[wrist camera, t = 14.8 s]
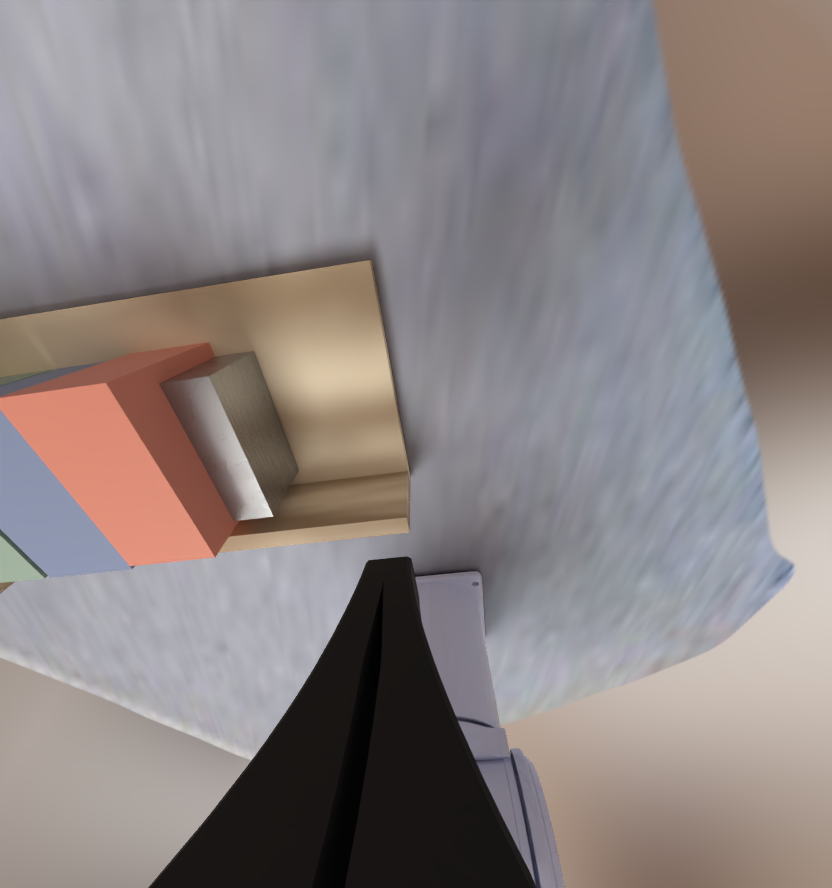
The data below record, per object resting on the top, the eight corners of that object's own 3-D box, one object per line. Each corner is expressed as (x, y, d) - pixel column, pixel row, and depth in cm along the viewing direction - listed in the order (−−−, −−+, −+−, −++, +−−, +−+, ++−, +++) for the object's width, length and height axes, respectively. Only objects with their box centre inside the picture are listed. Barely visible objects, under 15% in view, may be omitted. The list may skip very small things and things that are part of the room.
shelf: (410, 477, 20) (409, 565, 15) (86, 514, 22) (-36, 609, 16) (371, 260, 15) (343, 259, 9) (-67, 330, 16) (-349, 370, 10)
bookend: (299, 470, 19) (273, 516, 16) (266, 474, 19) (233, 521, 16) (254, 351, 16) (208, 376, 12) (214, 356, 16) (158, 383, 12)
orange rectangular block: (268, 477, 20) (215, 557, 14) (205, 485, 20) (129, 566, 15) (209, 341, 16) (105, 382, 10) (130, 353, 16) (-9, 399, 11)
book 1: (206, 487, 20) (132, 569, 15) (144, 495, 20) (50, 577, 15) (133, 357, 16) (-5, 404, 11) (57, 368, 16) (-113, 419, 11)
